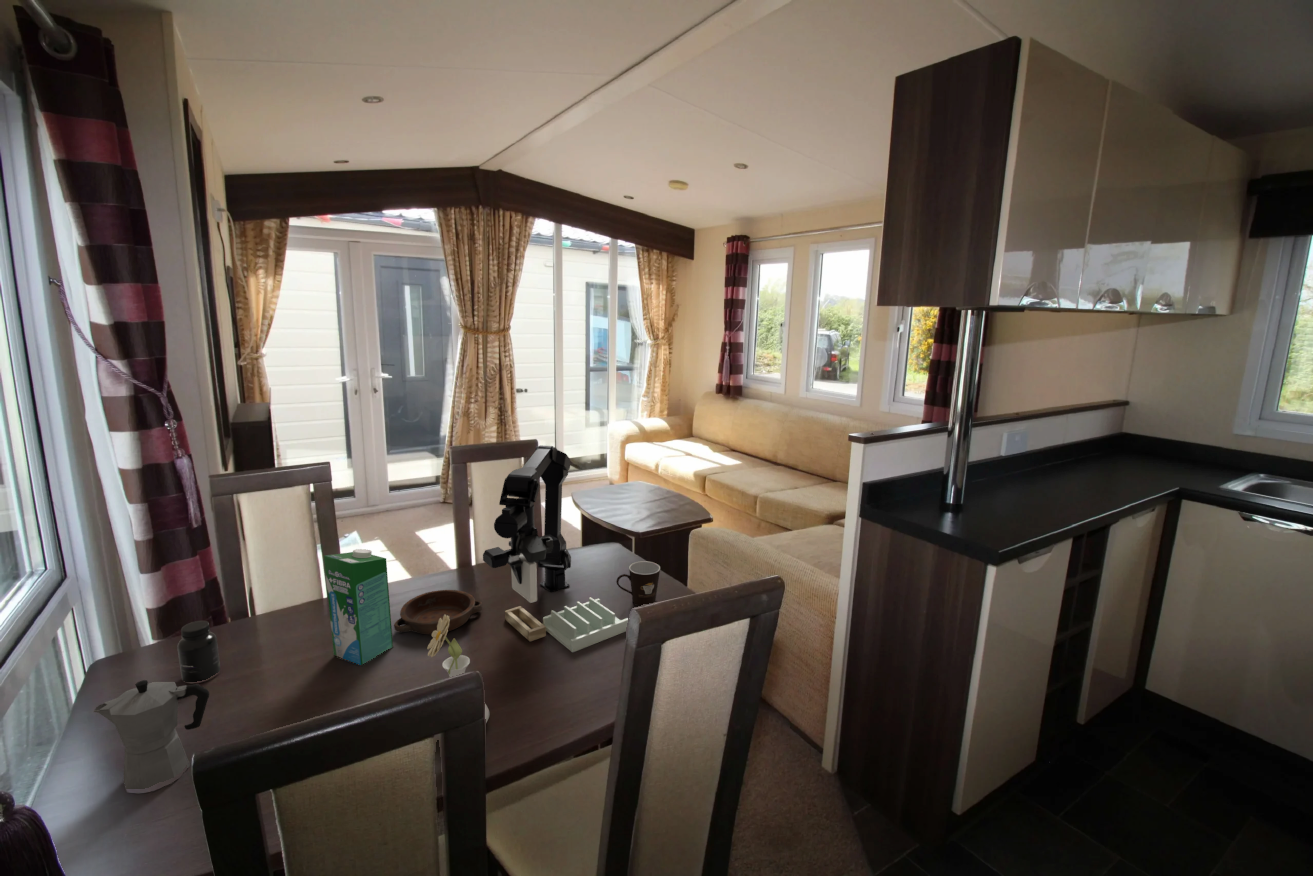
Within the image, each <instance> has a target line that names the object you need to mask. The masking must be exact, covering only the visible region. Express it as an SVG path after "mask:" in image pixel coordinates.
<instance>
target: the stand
mask: <svg viewBox="0 0 1313 876" xmlns="http://www.w3.org/2000/svg"><path fill="white" fill-rule="evenodd" d="M504 619H505V620H506V622H507V623H509V624H510V626H512V627H513V628H514V629H515V630H516V631H517V632H518V633H520V634H521V635H522V636H523V637H524V638H525V639H526V640H527V641H529V642H533V641H536V640H539V639H541V638H544V637H546V636H547V631H546V627H545V626H544V625H543V622H542V623H541V622H540V620H538V619H537V618H536V617H535V616H533V615H532V614H531V613H530V612H529V611H527V610H526V609H525V608H523V606H521V605H519V606H515V607H513V608H510V609H507V610H504Z"/></svg>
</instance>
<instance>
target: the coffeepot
mask: <svg viewBox="0 0 1313 876" xmlns="http://www.w3.org/2000/svg"><path fill="white" fill-rule="evenodd" d="M191 696H196V700H195V709H194V712H193V714H192V722H191V723H188V724H184V729H185V730H187V731H188V730H194V729H197V728H199V727H200V726H201V724H202V721H203V717H204V714H205V711H206V707H207V703H208V700H209V697H210V692H209V690H208V688H206V687H204V686H202V685H200V684H187V685H180V686H177V684H176V682H175V681H153V682H150V683H149V681H148V679H147V680H145V679H144V680H139V681H137V682H136V683H135V687H134V688H131V689H128V690H126V691H124V692H123V693H122V694H120V695H119V696H118V697H116V698H113V699H110V700H107V701H105V702H103V703H101V704H98V705H97V706H96V708H95V709H94V710H93V713H98V714H99V715H101V716H103V717H104V718H105V719H107V720H108V721H110V722H111V723H112V724H114V726H115V728H116V730H117V733H118V735H119V737H120V740H121V742H122V745H123V746H124V747H125V748H124V761H123V762H124V763H123V779H124V781H123V784H124V783H125V785H124V787H125V786H126V789H145V788H149V787H151V786H153V785H155V784H157V783H159V782H164V781H166V780H169V779H171V778H174V777H175V776H176V775H177V774H179V773H181V772H182V771H183V769H184V768H185V767H186V765H187V768H188V769H189V767H191V763H190V761H189V759H188V757H187V754H186V751H185V749H184V747H183V743H182V741H181V739H180V737H179V734H178V731H177V730H176V728H177V726H178V717H179V716H178V715H179V700H181V699H187V698H188V697H191ZM123 779H122V780H123ZM126 789H125V790H126Z"/></svg>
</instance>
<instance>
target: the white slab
mask: <svg viewBox="0 0 1313 876" xmlns="http://www.w3.org/2000/svg"><path fill="white" fill-rule="evenodd" d="M519 557H520V560H521V561H522V562H523V563H522V565H521V573H522V584H519V583H518V581H517V579H516V577H515V575H514V573H513V571H512V569H511V568H510V570H511V572H510V573H511V589H512V590H514V591H515V592H516V593H517V594H519V595H520V596H521V597H522V598H524V599H525V600H526V601H527V602H528V603H530V604H531V603H535V602H538V583H537V582H538V581H537V579H538V577H537V574H538V573H537V572H538V571H537V568H538V564H537V563H536V562H533V563H529V562H527V561H526V558H525V557H524V556H523V554H521V555H520V556H519Z"/></svg>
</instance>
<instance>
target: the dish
mask: <svg viewBox="0 0 1313 876" xmlns="http://www.w3.org/2000/svg"><path fill="white" fill-rule="evenodd" d="M482 610H483V602H482V601H480V600H476V599H475V597H474V595H472V594H471V593H469V592H466V591H464V590H463V591H462V590H456V589H440V590H439V589H438V590H432V591H428V592H425V593H421V594H419V595H417V596H414V597H413V598H410V599H409V600H408V601H407V602H405V603H404V604H403V606H402V607H401V609H400V612H399V615H400V617H399V619H397V620H396V621H395V622H394V623H393V624H394V625H393V628H394V630H395V631H396V632H398V633H405V632H414V633H415V632H416V634H417V633H418V634H421V635H432V632H433V631H437V625H438V621H439V619H440V618H441V619H442V620H443V616H444V615H446V616H449V619H450V622H449V627H448V632H451V631H454V630H456V629H458V628H459V627H461V626H463V625H464V624H466V623H467V622H468V620H469V619H470V617H471V615H473V614H476V613H478V612H481V611H482Z"/></svg>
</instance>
